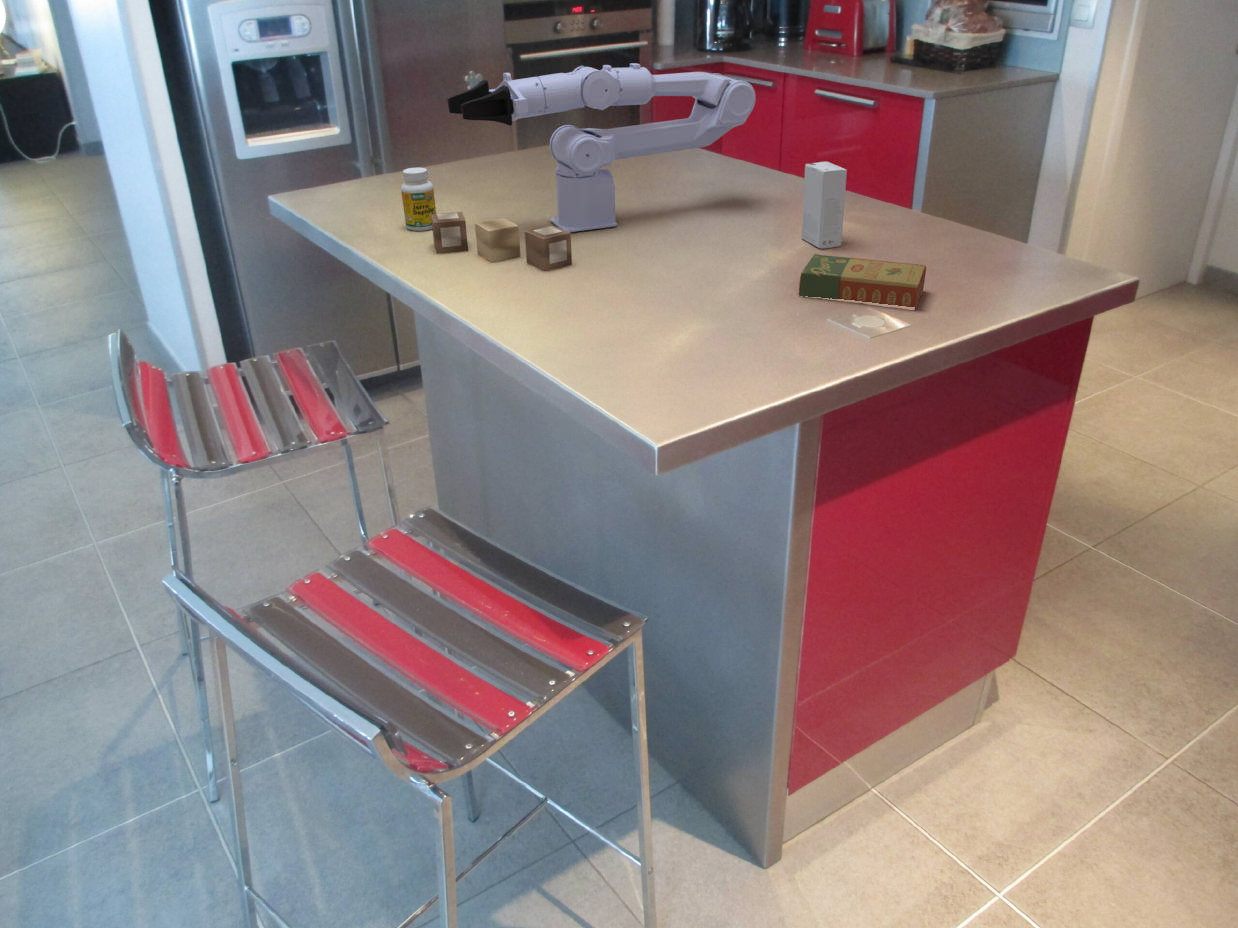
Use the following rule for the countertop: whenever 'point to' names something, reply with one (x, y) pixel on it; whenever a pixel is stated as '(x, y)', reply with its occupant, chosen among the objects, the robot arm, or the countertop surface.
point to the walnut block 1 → (449, 232)
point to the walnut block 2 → (548, 248)
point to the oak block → (497, 240)
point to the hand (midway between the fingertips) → (455, 109)
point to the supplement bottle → (417, 199)
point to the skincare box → (823, 204)
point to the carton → (863, 280)
